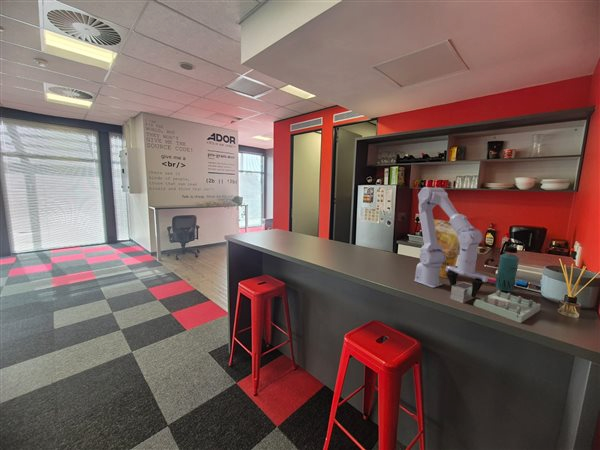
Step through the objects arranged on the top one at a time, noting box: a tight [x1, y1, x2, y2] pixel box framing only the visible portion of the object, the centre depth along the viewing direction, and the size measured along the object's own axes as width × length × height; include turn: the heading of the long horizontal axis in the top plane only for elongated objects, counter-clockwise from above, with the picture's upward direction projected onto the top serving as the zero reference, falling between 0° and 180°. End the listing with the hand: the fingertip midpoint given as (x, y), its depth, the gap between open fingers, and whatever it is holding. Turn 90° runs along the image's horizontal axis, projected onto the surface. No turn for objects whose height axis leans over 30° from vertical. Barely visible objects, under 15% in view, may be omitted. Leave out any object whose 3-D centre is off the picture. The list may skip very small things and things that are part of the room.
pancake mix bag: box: [421, 218, 460, 280], centre depth 126 cm, size 7×19×28 cm, turn 38°
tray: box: [473, 289, 542, 324], centre depth 93 cm, size 14×18×4 cm
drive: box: [450, 281, 475, 304], centre depth 100 cm, size 5×9×6 cm, turn 123°
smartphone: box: [486, 276, 497, 285], centre depth 125 cm, size 7×1×15 cm
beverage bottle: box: [495, 245, 520, 292], centre depth 107 cm, size 6×7×20 cm
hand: (463, 293), depth 100 cm, fingers open, 7 cm apart
